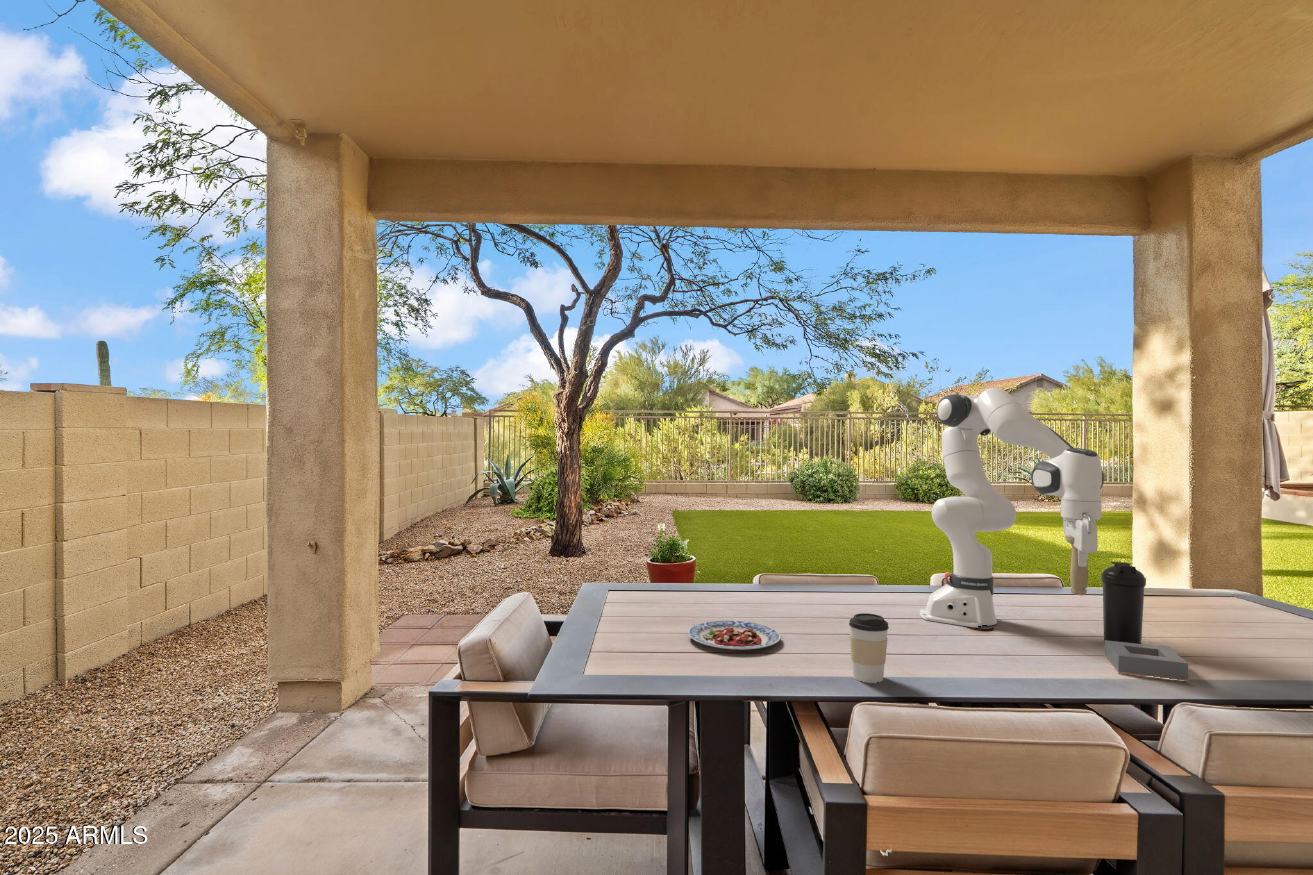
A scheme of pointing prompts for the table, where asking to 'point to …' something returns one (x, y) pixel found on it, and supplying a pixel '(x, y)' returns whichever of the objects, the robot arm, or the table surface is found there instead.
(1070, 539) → the handle
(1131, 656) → the socket block
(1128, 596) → the water bottle
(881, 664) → the coffee cup
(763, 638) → the ceramic plate
